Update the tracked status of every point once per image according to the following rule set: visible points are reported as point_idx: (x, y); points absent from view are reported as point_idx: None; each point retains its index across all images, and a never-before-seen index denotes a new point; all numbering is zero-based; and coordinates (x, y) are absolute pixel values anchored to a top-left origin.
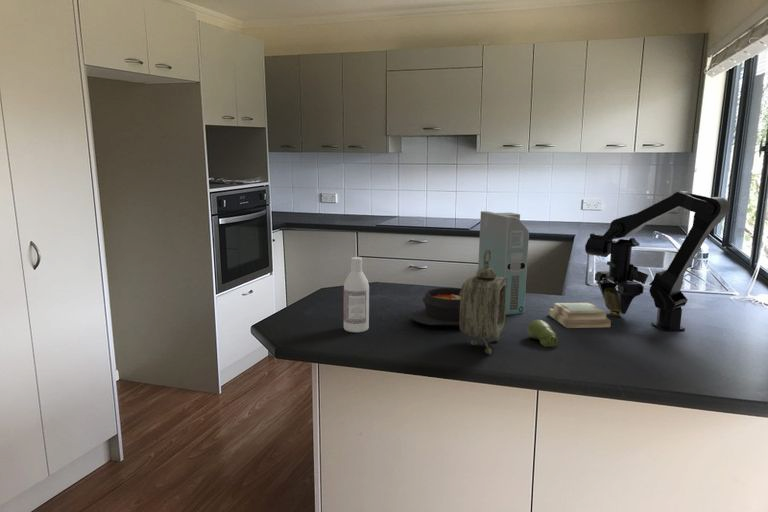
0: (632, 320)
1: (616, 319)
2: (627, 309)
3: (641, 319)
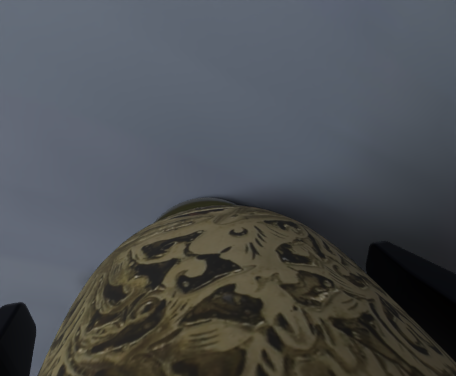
0: (378, 141)
1: None
2: (436, 265)
3: (370, 16)
